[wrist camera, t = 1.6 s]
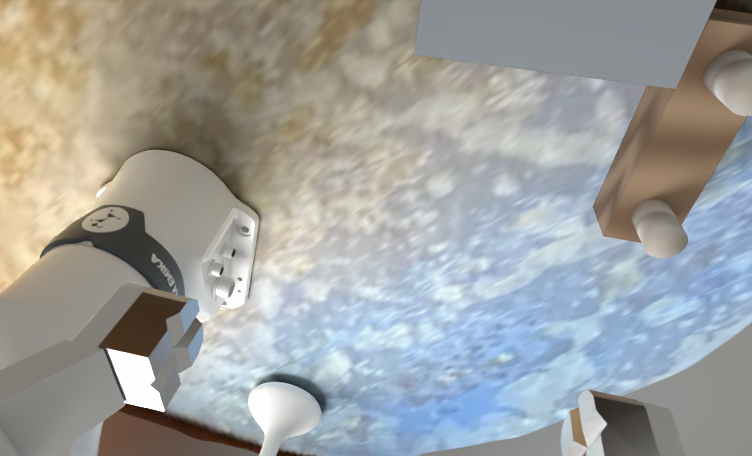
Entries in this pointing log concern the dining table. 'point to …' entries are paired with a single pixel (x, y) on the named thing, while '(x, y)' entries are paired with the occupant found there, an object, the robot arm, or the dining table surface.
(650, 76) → the slate shelf
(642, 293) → the dining table surface
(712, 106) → the twin candle holder
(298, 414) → the flower in vase
